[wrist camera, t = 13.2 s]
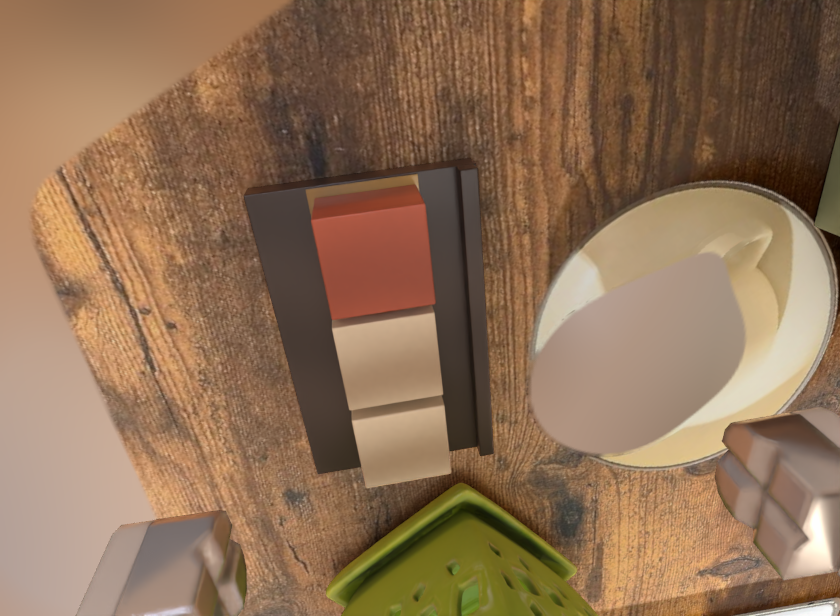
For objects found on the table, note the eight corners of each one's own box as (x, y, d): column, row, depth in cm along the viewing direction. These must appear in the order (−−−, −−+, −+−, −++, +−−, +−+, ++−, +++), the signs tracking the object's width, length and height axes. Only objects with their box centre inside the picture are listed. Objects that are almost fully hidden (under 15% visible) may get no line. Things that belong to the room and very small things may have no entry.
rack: (247, 188, 23) (230, 217, 20) (470, 157, 24) (494, 180, 20) (318, 459, 31) (315, 517, 27) (487, 430, 32) (506, 483, 28)
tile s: (314, 198, 23) (310, 219, 20) (415, 183, 23) (425, 203, 20) (332, 290, 25) (331, 321, 22) (426, 276, 25) (436, 304, 22)
